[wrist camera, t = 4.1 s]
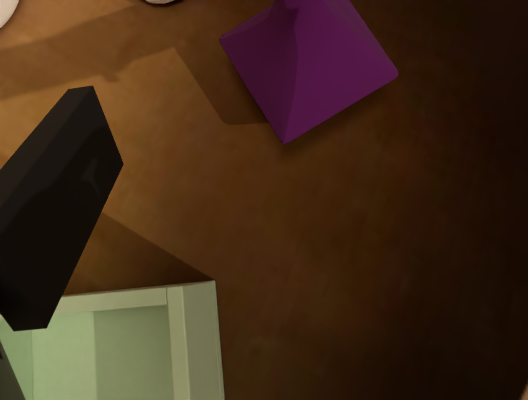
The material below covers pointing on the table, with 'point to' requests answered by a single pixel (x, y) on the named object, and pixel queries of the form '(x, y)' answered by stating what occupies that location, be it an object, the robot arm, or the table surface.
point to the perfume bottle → (306, 62)
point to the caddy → (123, 346)
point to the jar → (7, 10)
